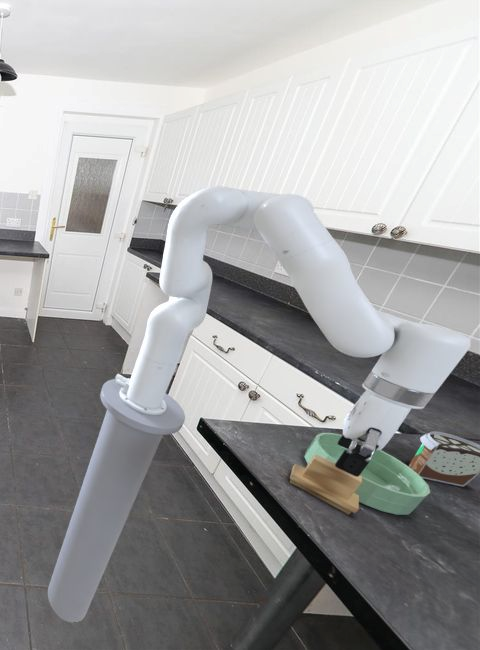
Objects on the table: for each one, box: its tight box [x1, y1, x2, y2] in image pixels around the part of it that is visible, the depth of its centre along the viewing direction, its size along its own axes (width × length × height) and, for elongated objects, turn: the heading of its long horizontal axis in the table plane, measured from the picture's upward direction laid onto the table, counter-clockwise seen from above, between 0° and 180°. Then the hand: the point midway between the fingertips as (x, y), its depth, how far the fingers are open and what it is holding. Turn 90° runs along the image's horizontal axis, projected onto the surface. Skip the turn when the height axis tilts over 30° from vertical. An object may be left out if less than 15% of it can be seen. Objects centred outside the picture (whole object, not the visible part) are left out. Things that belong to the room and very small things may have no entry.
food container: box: [407, 430, 480, 487], centre depth 78 cm, size 12×6×10 cm, turn 78°
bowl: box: [304, 432, 431, 516], centre depth 74 cm, size 17×17×6 cm
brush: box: [289, 454, 362, 515], centre depth 69 cm, size 10×5×8 cm, turn 41°
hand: (346, 459), depth 67 cm, fingers open, 9 cm apart
